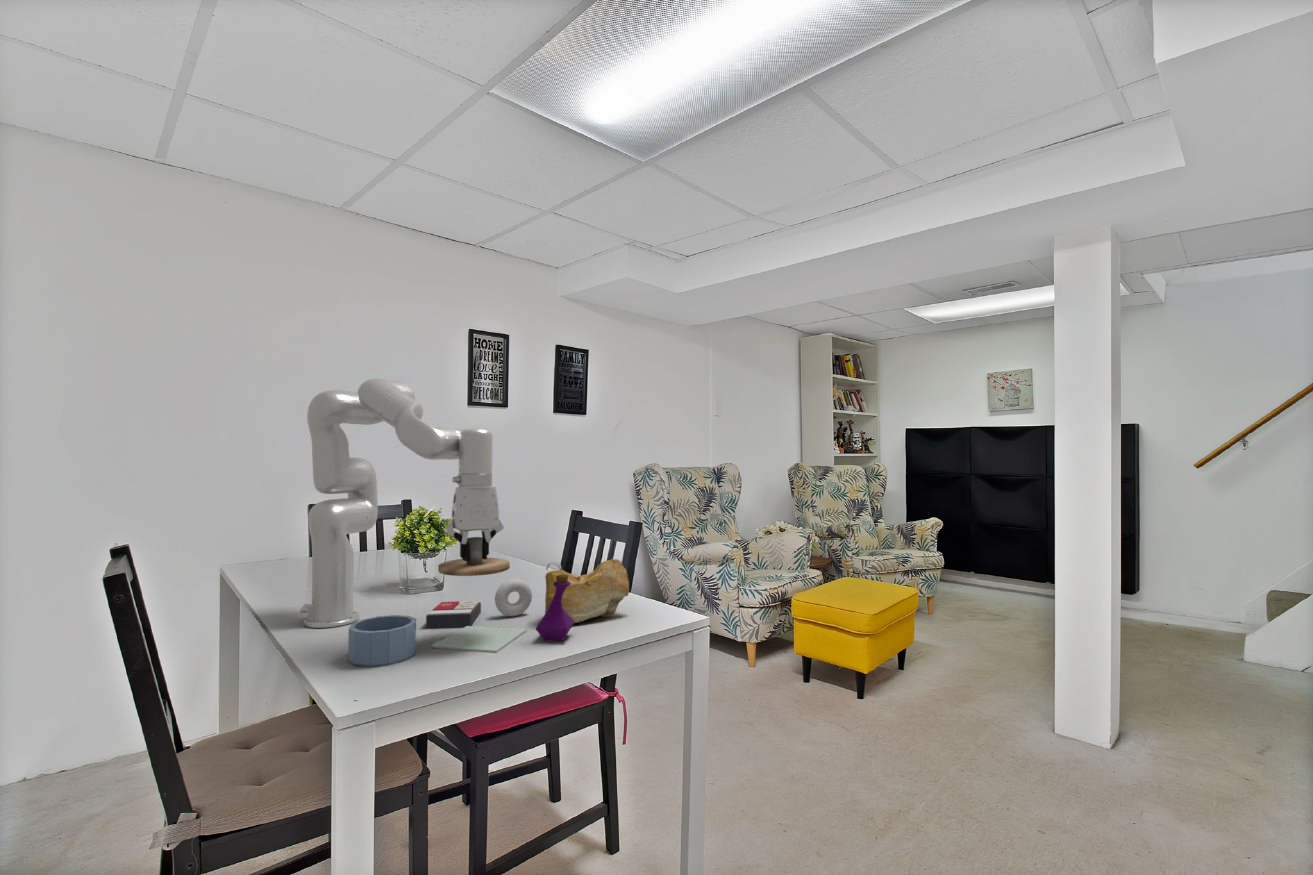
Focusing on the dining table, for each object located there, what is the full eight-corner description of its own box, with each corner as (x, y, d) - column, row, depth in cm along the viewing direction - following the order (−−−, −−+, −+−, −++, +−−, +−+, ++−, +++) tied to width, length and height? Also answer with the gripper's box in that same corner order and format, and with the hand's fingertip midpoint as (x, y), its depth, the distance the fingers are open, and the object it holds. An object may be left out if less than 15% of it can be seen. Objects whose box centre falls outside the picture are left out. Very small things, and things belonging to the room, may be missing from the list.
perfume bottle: (574, 634, 146) (574, 559, 146) (567, 643, 138) (567, 565, 139) (544, 633, 147) (544, 558, 147) (535, 642, 139) (535, 564, 140)
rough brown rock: (611, 607, 175) (608, 554, 176) (636, 615, 160) (632, 558, 161) (532, 620, 164) (529, 564, 165) (551, 630, 149) (547, 569, 150)
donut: (496, 620, 158) (496, 581, 158) (493, 617, 161) (493, 579, 161) (533, 615, 163) (533, 578, 163) (529, 612, 166) (529, 575, 166)
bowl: (335, 664, 125) (335, 630, 125) (376, 644, 138) (376, 613, 138) (390, 668, 123) (391, 634, 123) (427, 648, 135) (427, 616, 135)
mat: (430, 647, 136) (430, 645, 136) (466, 627, 151) (466, 625, 151) (496, 652, 132) (496, 650, 132) (526, 631, 148) (526, 629, 148)
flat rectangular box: (481, 599, 167) (471, 610, 152) (481, 615, 166) (470, 628, 151) (440, 600, 165) (425, 612, 150) (439, 616, 165) (425, 630, 150)
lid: (424, 574, 135) (424, 541, 135) (460, 561, 151) (460, 532, 151) (490, 577, 132) (490, 544, 132) (520, 563, 148) (520, 534, 148)
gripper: (443, 482, 134) (442, 565, 134) (515, 481, 144) (514, 558, 143) (434, 481, 140) (433, 560, 140) (503, 479, 150) (503, 554, 149)
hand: (474, 558), depth 142 cm, fingers closed on lid, 3 cm apart
